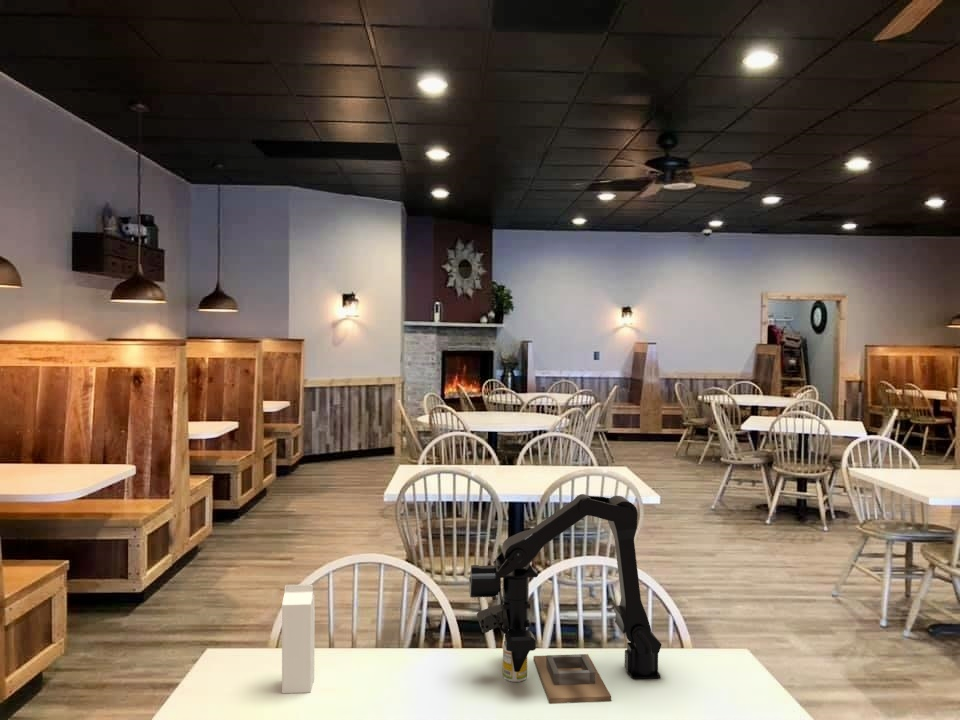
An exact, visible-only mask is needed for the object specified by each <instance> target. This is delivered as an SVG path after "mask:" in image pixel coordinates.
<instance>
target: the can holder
mask: <svg viewBox="0 0 960 720" xmlns="http://www.w3.org/2000/svg"><path fill="white" fill-rule="evenodd" d="M532 660H533V663H534V665H535V668H536V672H537V674H538V676H539V680H540V682H541V684H542V688H543V690H544V692H545V695H546V698H547V700H548V701H547V702H548V704H565V703H567V702H570V703H588V702H589V703H591V702H592V703H594V702H597V703H598V702H612V695H611V693H610V691H609V690H608V688H607V686H606V684H605V682H604V680H603V679H602V677H601V675H600V673H599V671H598V669H597V668H596V666H595V664H594V663H593V661H592V658H591V656H590V655H589V654H588V653H579V654H549V655H548V654H547V655H533V659H532ZM567 704H568V703H567Z"/></svg>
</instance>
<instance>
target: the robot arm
mask: <svg viewBox="0 0 960 720" xmlns="http://www.w3.org/2000/svg"><path fill="white" fill-rule="evenodd" d="M587 516H590V517H594V518H599V519H600V520H601V519H602V520H605V521H607V523H608V525H609V528H610V530H611V533H612V536H613V539H614V547H615V548H614V549H615V555H616V564H617V572H618V581H619V589H620V590H619V591H620V601H619V605H613V610H614V614H615V619H614V623H615V624H616V626H617V627H618V628H619V630H620V631H621V632H622V634H623V635H624V636H625V637H626V639H627V641H628V642H627V643H626V649H625V650H624V668H625V670H626V672H627V673H628V674H629V676H630V677H631V679H633V680H641V679H643V680H644V679H646V680H648V679H660V678H661V677H662V676H661V674H660V672H659V653H660V650H661V647H662V643H661V641H659V639H658V638H657V637H656V635H655V634H654V633H653V632H652V628H651V627H652V626H651V625H650V621H649V618H648V617H649V616H648V614H647V612H646V610H645V607H644V605H643V602H642V599H641V598H642V597H641V589H640V581H639V573H638V572H639V571H638V562H637V555H636V554H637V553H636V547H635V537H636V532H637V530H638V516H639V513H638V509H637V507H636V505H634V504H633V502H631V501H630V500H628V499H626V498H625V497H624V496H621V495H614V496H613V495H612V496H611V497H606V496H599V495H597V496H596V495H587V494H586V493H581V494H578V495H577V496H576V497H574V499H572V500H571V501H570V502H568V503H567V504H565V505H564V506H563V507H561V508H559V509H558V510H557V511H555V512H554V513H553V514H551V515H550V516H548V517H546V519H544V520H543V521H541V522H539V524H536V525H535V526H534V527H532V528H530V529H526V530H523V531H519V532H518V533H515V534H513V535H511V536H509V537H508V538H506V539H505V540H504V541H503V543H502V547H501V551H500V553H499V554H498V555H497V556H496V558H495V559H494V561H493V562H492V563H493V565H479V564H472V565H470V572H469V577H468V586H469V587H468V588H469V589H468V590H469V597H470V598H471V599H473V598H496V596H499V593H501V590H502V596H501V598H500V600H499V602H500V603H499V604H497V605H493V606H489V607H487V608H485V609H483V610H480V611H477V612H476V617H477V621H478V624H479V626H480V630H481V632H482V633H483V634H484V633H485V634H486V633H488V632H490V631H492V630H494V629H497V628H499V629H500V631H501V632H502V633H503V634H504V641H503V645H504V644H505V647H506V650H507V651H511V655H512V660H513V666H514V671H515V672H519V671H520V669H521V667H522V665H523V663H524V661H525V659H526V657H527V658H528V655H529V653H530V652H532V651H536V650H537V647H536V646H537V645H536V643H537V641H536V638H535V635H534V634H533V632H532V631H531V630H529V629H527V628H531V622H530V620H529V609H530V610H531V603H530V600H529V593H530V592H529V591H530V590H529V588H530V587H529V585H530V583H529V582H530V578H538V576H539V574H538V572H537V571H536V569H535V568H534V567H532V565H531V562H532V561H533V560H534V559H535V558H536V557H537V556H538V554H539V553H540V551H541V550H543V548H544V547H545V546H546V545H547V544H548V543H550V542H551V541H553V540H554V539H556V538H557V537H558V536H560V535H561V534H563V533H564V532H565V531H567V530H568V529H569V528H571V527H573V526H575V524H577V523H578V522H580V521H581V520H582V519H584V518H585V517H587ZM501 580H502V581H501ZM501 582H502V583H501ZM501 588H502V589H501Z"/></svg>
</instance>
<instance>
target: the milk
mask: <svg viewBox="0 0 960 720" xmlns="http://www.w3.org/2000/svg"><path fill="white" fill-rule="evenodd" d="M315 597H316V595H315V593H314V586H313V584H285V585H284V594H283V599H282V603H281V604H282V605H281V694H305V693H306V694H307V693H312V689H313V685H314V682H315V627H316V626H315V622H316V621H315V619H316V618H315V616H316V615H315V609H316V607H315Z"/></svg>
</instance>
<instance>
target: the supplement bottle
mask: <svg viewBox="0 0 960 720" xmlns="http://www.w3.org/2000/svg"><path fill="white" fill-rule="evenodd" d="M527 677H528V656H527V657H526V659H525V661H524V663H523V665H522V667H521V669H520V671H519V672H515V671H514V666H513V660H512V655H511V651H507V650H506V647H505V644H504V643H503V645H502V678H504V680H506V681H508V682H513V683H519V682H523V681H525V680H526V679H527Z"/></svg>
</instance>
